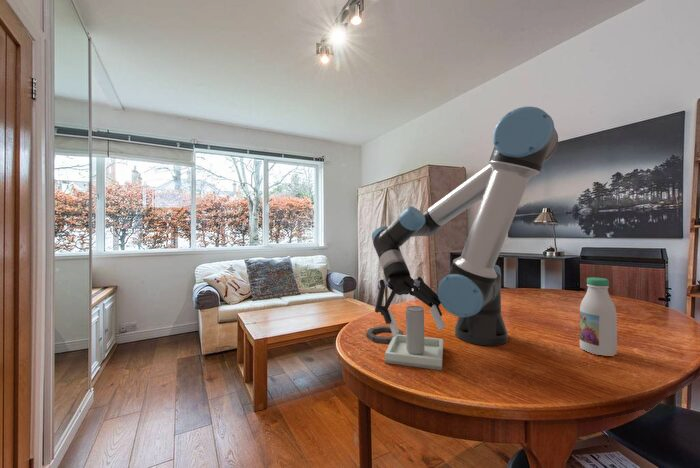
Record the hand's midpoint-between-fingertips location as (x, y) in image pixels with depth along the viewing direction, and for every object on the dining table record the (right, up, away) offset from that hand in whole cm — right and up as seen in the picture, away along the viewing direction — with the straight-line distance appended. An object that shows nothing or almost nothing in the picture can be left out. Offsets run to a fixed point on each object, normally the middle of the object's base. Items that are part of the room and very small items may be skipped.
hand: (419, 331), depth 77 cm
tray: (0, -7, +2) cm, 8 cm away
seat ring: (-7, -7, +16) cm, 19 cm away
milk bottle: (+49, -6, +2) cm, 50 cm away
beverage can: (-1, -7, +2) cm, 7 cm away
